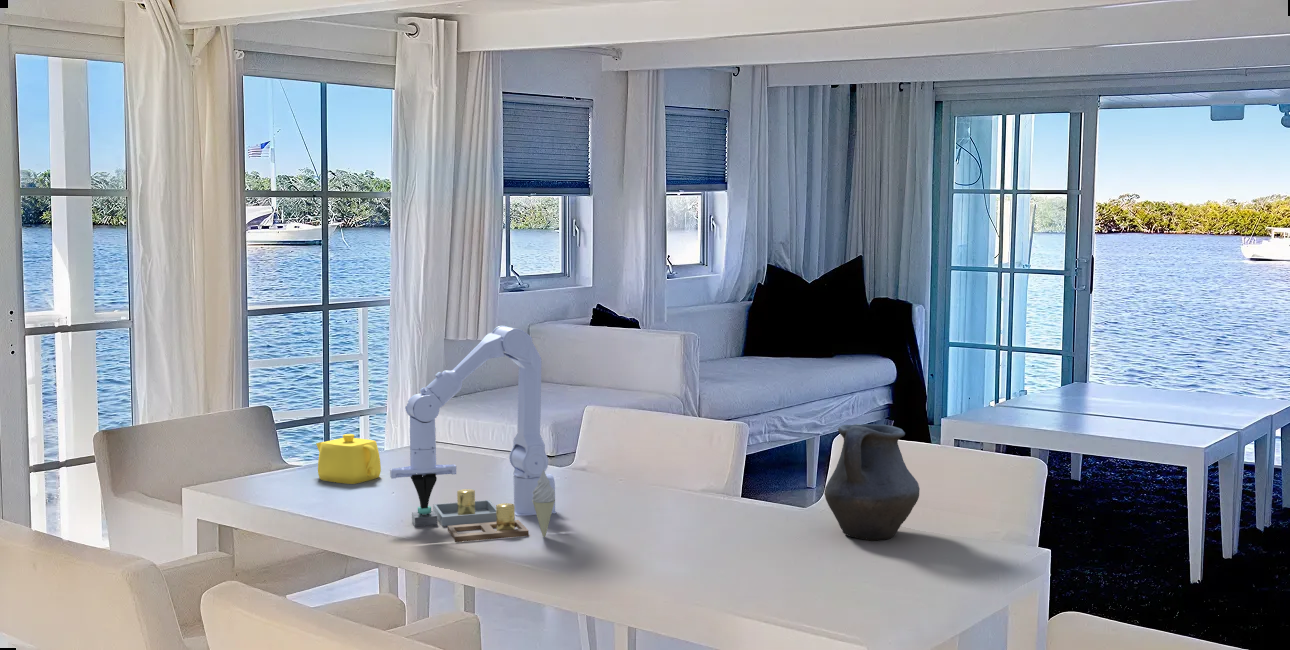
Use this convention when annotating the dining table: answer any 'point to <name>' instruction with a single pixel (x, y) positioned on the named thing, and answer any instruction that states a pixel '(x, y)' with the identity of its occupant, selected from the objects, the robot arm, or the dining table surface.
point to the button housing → (424, 519)
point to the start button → (424, 510)
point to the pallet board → (486, 531)
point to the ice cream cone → (543, 502)
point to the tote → (449, 515)
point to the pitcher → (871, 483)
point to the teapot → (348, 460)
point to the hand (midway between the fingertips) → (424, 507)
